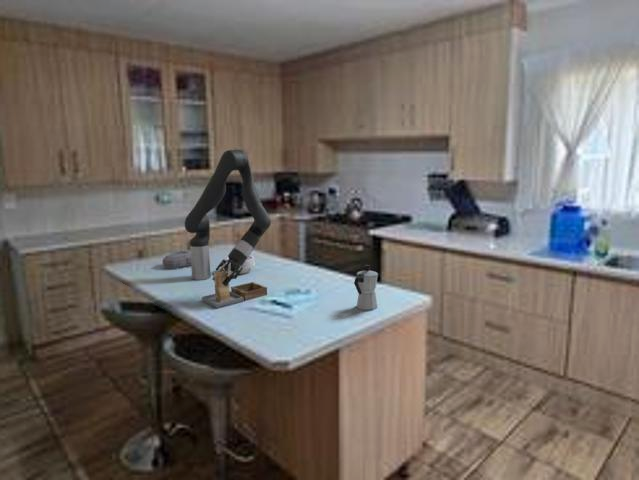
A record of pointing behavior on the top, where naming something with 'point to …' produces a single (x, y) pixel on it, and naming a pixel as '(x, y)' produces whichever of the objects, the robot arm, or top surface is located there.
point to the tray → (217, 304)
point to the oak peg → (221, 286)
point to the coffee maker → (366, 289)
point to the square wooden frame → (256, 290)
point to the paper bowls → (247, 265)
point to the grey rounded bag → (177, 260)
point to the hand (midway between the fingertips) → (218, 282)
